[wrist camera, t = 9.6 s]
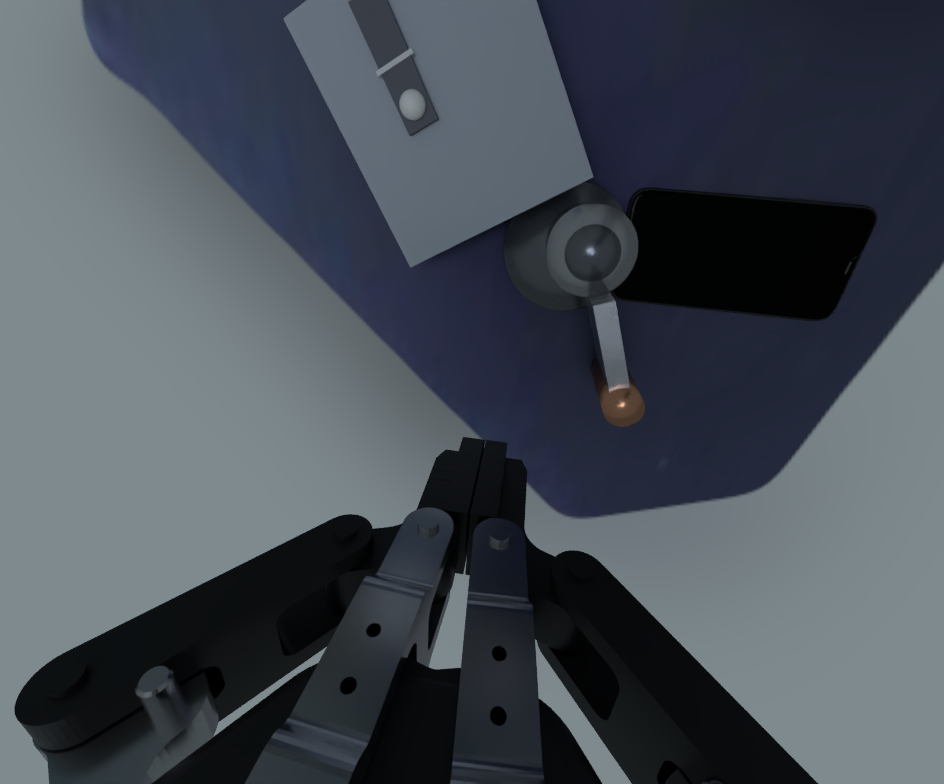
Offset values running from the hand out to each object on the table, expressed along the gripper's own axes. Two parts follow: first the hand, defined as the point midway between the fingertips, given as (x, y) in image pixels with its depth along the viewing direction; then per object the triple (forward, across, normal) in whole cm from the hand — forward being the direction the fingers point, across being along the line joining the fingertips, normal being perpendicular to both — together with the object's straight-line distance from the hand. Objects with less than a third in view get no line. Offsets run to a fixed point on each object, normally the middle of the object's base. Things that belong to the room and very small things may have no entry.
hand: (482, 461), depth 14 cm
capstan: (+19, -4, -2) cm, 20 cm away
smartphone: (+21, -14, -5) cm, 25 cm away
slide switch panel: (+20, +5, -12) cm, 24 cm away
